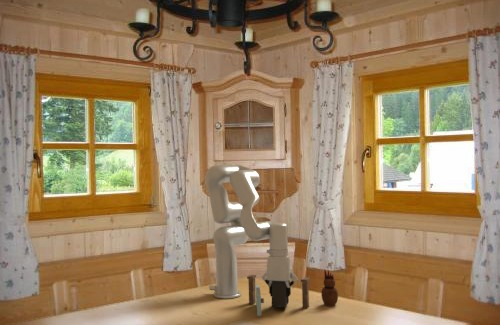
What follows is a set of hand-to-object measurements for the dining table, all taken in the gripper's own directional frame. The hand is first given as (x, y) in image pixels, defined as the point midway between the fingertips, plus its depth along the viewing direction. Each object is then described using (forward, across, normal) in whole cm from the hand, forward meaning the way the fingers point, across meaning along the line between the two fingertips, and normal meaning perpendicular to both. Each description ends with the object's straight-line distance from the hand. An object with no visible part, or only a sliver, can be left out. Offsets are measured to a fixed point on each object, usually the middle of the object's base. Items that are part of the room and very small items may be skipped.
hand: (280, 295), depth 217 cm
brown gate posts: (+5, -2, +4) cm, 6 cm away
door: (+4, -7, -6) cm, 10 cm away
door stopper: (+4, 0, 0) cm, 4 cm away
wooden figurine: (+5, +19, +10) cm, 22 cm away
